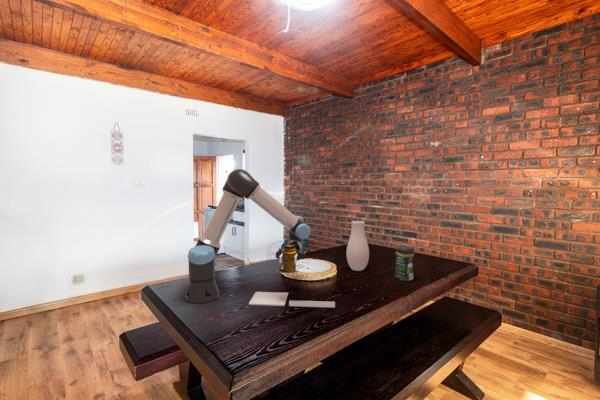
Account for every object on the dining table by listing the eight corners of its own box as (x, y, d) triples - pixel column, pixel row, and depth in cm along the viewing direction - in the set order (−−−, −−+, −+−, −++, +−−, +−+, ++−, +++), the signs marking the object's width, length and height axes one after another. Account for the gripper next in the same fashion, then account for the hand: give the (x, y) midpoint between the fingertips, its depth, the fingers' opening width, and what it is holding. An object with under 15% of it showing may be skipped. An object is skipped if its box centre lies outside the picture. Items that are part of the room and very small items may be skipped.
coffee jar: (392, 277, 170) (393, 245, 168) (402, 275, 173) (403, 243, 172) (405, 282, 161) (405, 248, 160) (415, 280, 164) (416, 247, 163)
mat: (248, 304, 132) (248, 303, 132) (255, 292, 146) (255, 291, 146) (284, 305, 131) (284, 304, 131) (288, 293, 145) (288, 292, 145)
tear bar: (289, 306, 131) (289, 301, 131) (289, 304, 132) (289, 300, 132) (334, 307, 129) (334, 303, 129) (334, 306, 131) (334, 301, 131)
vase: (341, 268, 187) (342, 220, 185) (359, 265, 193) (360, 219, 191) (354, 274, 175) (355, 223, 173) (373, 271, 180) (374, 222, 178)
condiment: (299, 271, 137) (299, 246, 136) (283, 274, 132) (283, 248, 131) (291, 267, 143) (291, 243, 142) (275, 270, 138) (275, 245, 138)
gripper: (311, 256, 154) (309, 269, 131) (275, 255, 156) (266, 267, 133) (311, 241, 154) (309, 252, 131) (275, 240, 155) (266, 251, 132)
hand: (287, 260), depth 132 cm, fingers closed on condiment, 6 cm apart
